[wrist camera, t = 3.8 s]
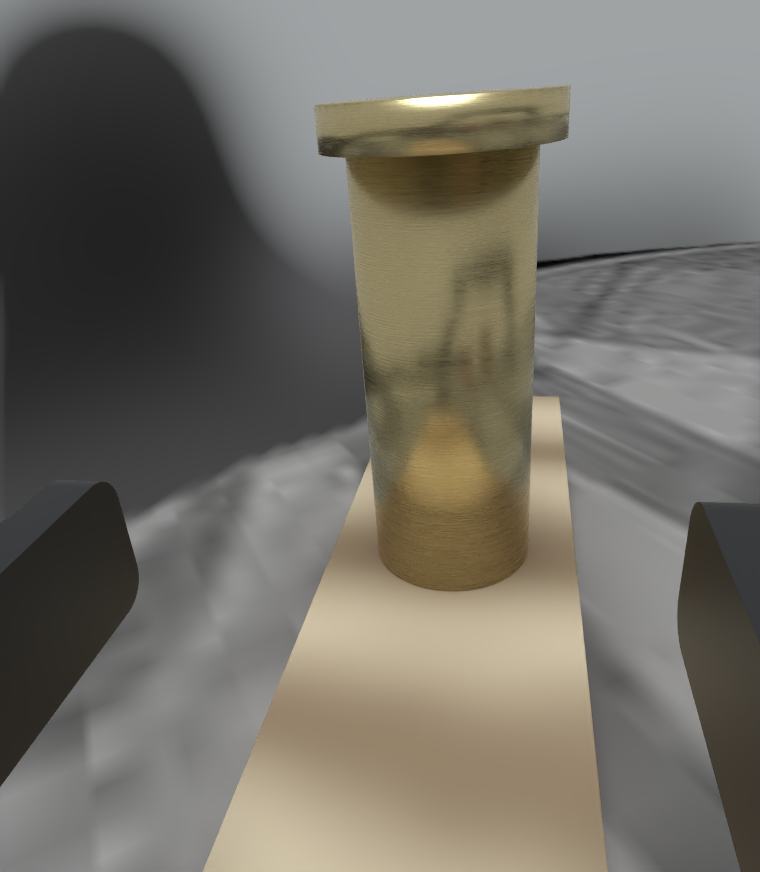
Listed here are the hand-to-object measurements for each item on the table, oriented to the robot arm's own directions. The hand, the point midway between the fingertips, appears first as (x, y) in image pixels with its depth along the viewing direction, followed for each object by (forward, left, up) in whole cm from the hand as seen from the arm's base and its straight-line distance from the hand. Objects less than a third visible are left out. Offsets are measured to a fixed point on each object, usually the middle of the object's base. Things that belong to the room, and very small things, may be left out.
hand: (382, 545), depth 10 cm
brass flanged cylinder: (-7, -6, -7) cm, 11 cm away
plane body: (-7, -6, -10) cm, 13 cm away
